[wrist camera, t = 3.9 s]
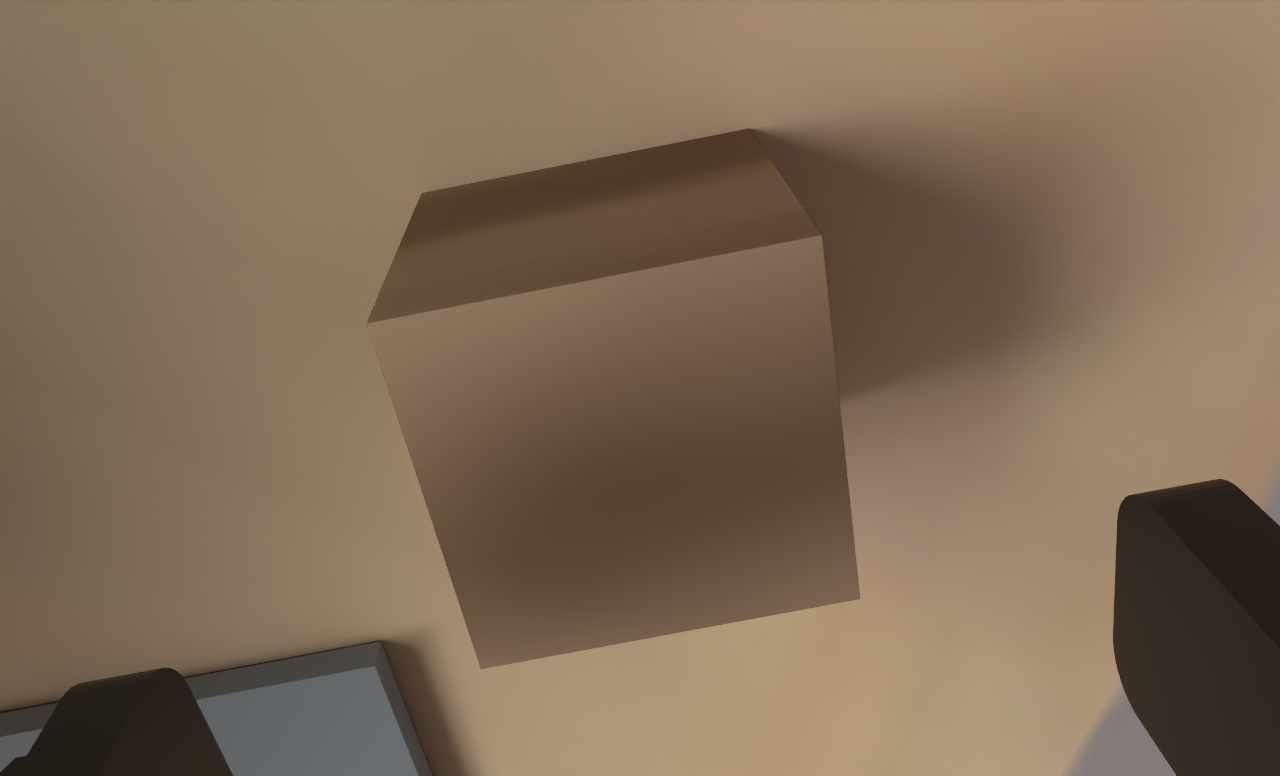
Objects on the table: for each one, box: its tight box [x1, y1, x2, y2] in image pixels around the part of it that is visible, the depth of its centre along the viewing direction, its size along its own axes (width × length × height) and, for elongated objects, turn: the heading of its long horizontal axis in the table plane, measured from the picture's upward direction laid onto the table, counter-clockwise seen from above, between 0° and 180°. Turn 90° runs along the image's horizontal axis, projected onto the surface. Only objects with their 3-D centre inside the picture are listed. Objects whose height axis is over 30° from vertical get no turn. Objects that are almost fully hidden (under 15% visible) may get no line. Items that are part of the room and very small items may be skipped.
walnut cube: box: [367, 128, 860, 669], centre depth 13 cm, size 4×4×4 cm
